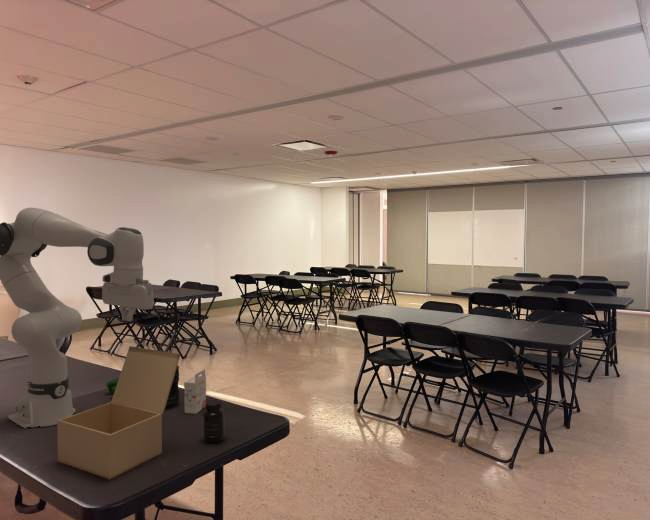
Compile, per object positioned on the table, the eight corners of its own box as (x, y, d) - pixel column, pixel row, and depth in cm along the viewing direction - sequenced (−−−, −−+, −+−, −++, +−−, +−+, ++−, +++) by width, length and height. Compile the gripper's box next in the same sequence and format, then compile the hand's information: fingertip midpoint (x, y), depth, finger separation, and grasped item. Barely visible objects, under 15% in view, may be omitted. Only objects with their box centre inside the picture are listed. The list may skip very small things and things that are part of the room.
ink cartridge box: (194, 405, 183) (194, 367, 182) (206, 406, 182) (206, 368, 181) (183, 413, 174) (183, 373, 174) (196, 414, 173) (196, 374, 173)
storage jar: (148, 410, 177) (148, 370, 177) (157, 401, 187) (157, 364, 187) (174, 410, 177) (174, 370, 177) (182, 401, 187) (182, 364, 187)
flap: (129, 346, 156) (131, 346, 157) (111, 401, 150) (112, 401, 151) (179, 353, 146) (180, 354, 147) (161, 413, 141) (163, 413, 141)
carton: (57, 461, 135) (57, 420, 134) (111, 438, 151) (111, 401, 150) (110, 479, 125) (110, 435, 124) (162, 453, 141) (161, 413, 141)
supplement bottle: (204, 435, 154) (204, 399, 154) (225, 434, 155) (225, 398, 154) (200, 444, 147) (200, 406, 147) (222, 443, 148) (222, 406, 148)
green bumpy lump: (112, 404, 196) (104, 383, 197) (126, 397, 200) (118, 377, 201) (118, 400, 187) (110, 379, 188) (133, 394, 191) (124, 373, 192)
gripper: (159, 279, 150) (158, 322, 151) (115, 275, 159) (114, 315, 160) (143, 281, 145) (142, 325, 145) (98, 276, 154) (97, 318, 154)
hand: (127, 320), depth 153 cm, fingers closed
